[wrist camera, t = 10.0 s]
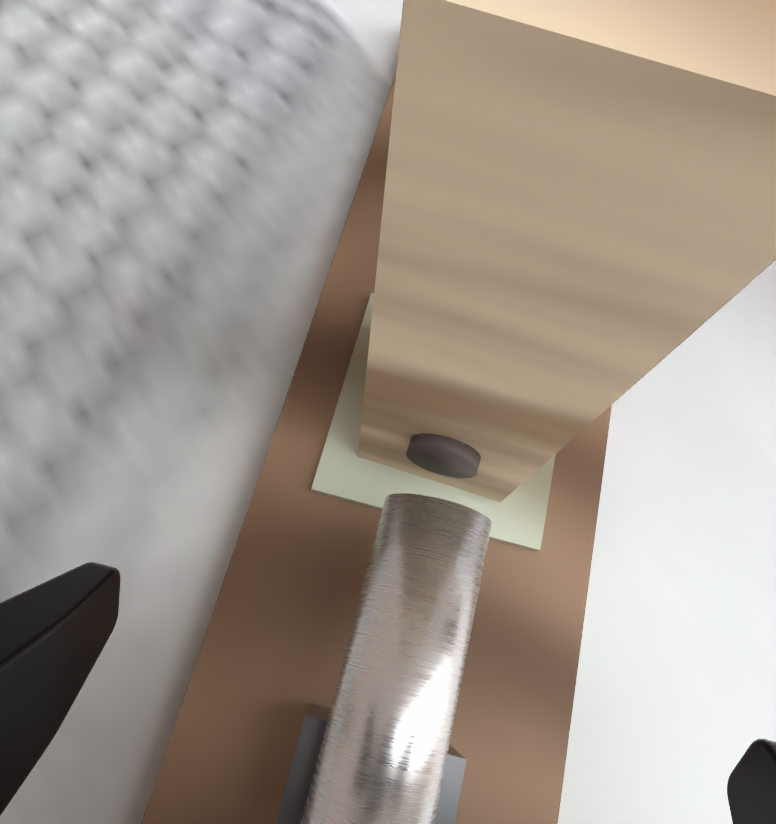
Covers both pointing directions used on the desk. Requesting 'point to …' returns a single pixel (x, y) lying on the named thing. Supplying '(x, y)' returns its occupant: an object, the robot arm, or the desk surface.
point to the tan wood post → (558, 217)
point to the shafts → (397, 677)
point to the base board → (344, 575)
